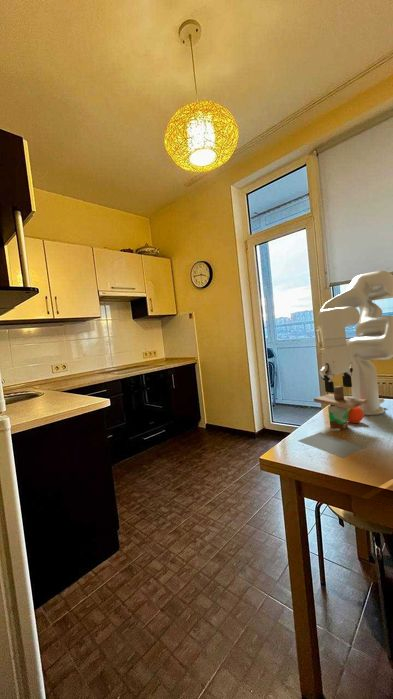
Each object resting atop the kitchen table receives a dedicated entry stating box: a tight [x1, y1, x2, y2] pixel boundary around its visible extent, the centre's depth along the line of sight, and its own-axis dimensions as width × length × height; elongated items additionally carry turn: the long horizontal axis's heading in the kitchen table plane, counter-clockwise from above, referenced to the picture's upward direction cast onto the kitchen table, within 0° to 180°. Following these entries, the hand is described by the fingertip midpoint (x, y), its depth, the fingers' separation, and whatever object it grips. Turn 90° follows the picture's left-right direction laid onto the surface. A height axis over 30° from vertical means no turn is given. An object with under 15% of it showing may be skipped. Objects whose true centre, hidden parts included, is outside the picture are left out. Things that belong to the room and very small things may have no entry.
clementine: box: [347, 407, 364, 424], centre depth 110 cm, size 8×7×7 cm
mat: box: [297, 432, 367, 459], centre depth 93 cm, size 11×17×1 cm, turn 27°
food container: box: [327, 405, 349, 432], centre depth 106 cm, size 12×6×10 cm, turn 148°
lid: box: [313, 385, 367, 409], centre depth 105 cm, size 9×15×6 cm, turn 27°
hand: (338, 389), depth 105 cm, fingers open, 9 cm apart
